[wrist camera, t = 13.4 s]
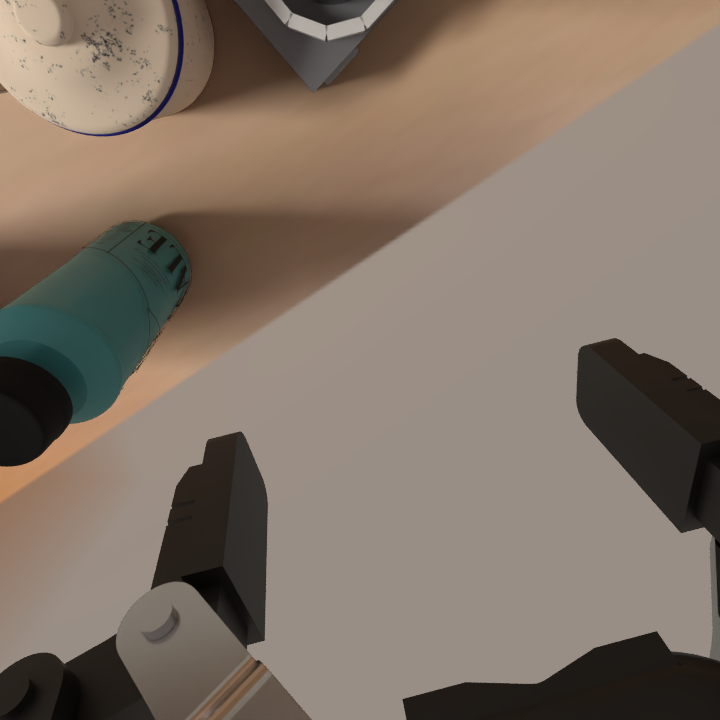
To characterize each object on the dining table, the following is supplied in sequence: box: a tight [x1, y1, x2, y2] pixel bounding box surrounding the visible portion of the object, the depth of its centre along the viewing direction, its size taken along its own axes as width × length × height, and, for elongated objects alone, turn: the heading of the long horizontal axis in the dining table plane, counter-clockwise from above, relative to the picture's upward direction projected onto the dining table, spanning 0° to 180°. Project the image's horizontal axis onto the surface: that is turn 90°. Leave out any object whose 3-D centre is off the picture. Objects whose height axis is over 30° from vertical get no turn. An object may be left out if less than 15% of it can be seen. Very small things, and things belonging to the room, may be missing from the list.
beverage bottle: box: [0, 221, 192, 466], centre depth 27 cm, size 6×7×20 cm
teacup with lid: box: [0, 0, 214, 136], centre depth 24 cm, size 12×9×12 cm
